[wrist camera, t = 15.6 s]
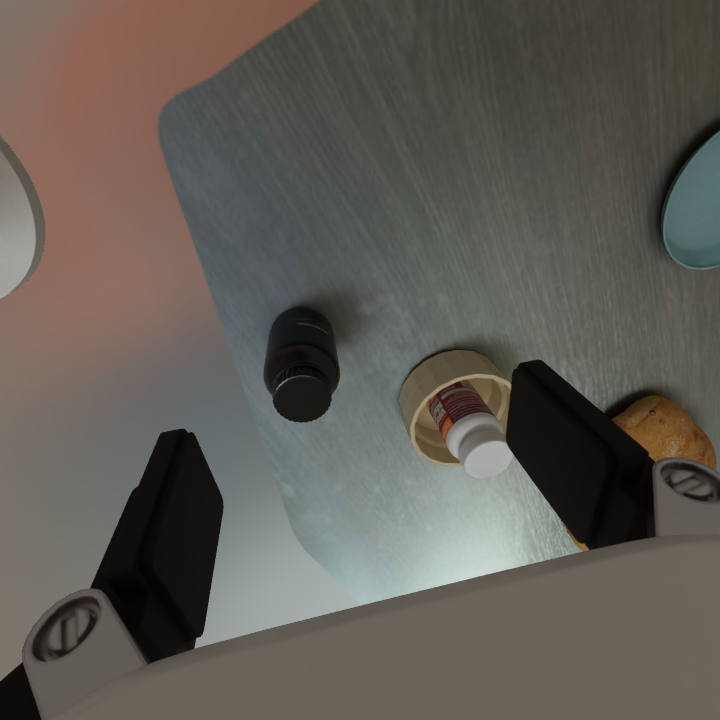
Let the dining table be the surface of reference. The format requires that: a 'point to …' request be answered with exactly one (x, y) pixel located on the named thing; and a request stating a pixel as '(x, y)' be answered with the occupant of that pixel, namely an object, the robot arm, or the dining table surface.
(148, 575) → the robot arm
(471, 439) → the pill bottle
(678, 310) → the dining table surface
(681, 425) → the bread
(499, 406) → the beige round bowl
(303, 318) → the supplement bottle
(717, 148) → the saucer
